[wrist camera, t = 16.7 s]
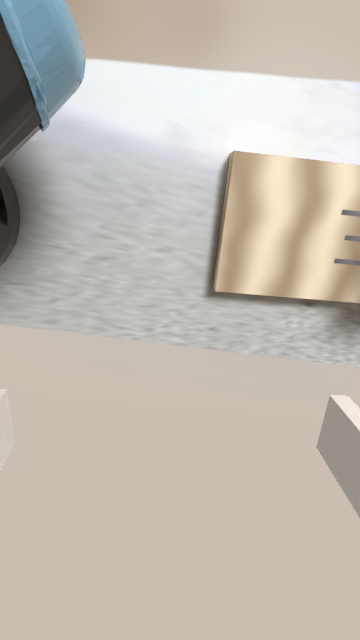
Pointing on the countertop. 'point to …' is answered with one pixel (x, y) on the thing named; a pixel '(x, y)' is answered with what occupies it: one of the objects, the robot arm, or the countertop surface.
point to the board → (290, 229)
